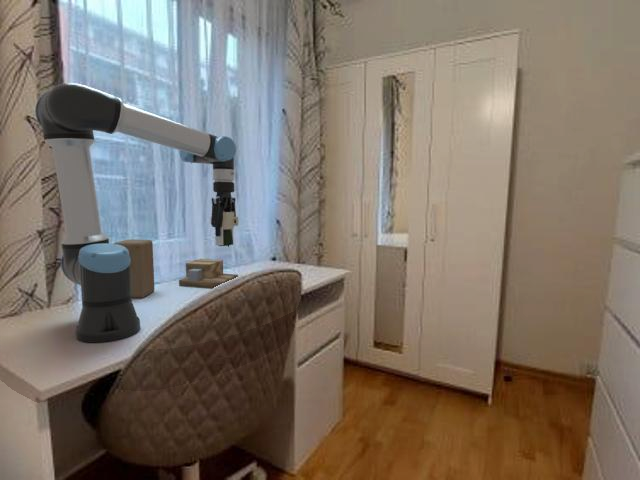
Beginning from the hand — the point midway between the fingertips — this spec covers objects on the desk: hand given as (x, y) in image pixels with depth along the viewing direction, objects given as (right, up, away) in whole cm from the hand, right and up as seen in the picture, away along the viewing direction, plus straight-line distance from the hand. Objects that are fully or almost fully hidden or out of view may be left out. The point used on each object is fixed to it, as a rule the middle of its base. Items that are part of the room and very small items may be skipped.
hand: (224, 243), depth 143 cm
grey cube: (-15, -15, +13) cm, 24 cm away
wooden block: (-32, -19, -2) cm, 37 cm away
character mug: (0, -1, 0) cm, 1 cm away
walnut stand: (-11, -17, +17) cm, 26 cm away
